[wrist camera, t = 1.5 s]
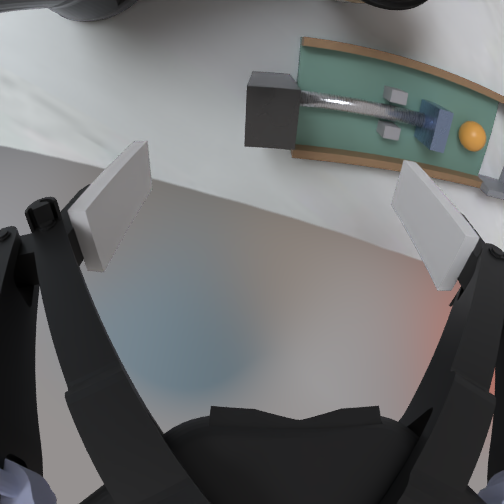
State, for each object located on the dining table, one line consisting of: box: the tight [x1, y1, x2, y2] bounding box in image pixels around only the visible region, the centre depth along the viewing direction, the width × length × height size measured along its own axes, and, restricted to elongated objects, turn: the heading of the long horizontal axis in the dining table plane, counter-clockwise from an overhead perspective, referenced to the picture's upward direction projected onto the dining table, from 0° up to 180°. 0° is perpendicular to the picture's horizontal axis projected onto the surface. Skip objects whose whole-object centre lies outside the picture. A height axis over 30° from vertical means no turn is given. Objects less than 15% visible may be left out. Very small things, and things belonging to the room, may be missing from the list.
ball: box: [459, 121, 486, 152], centre depth 29 cm, size 4×4×4 cm
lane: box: [291, 37, 504, 188], centre depth 30 cm, size 14×28×4 cm, turn 87°
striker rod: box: [245, 71, 454, 153], centre depth 26 cm, size 5×22×11 cm, turn 87°
